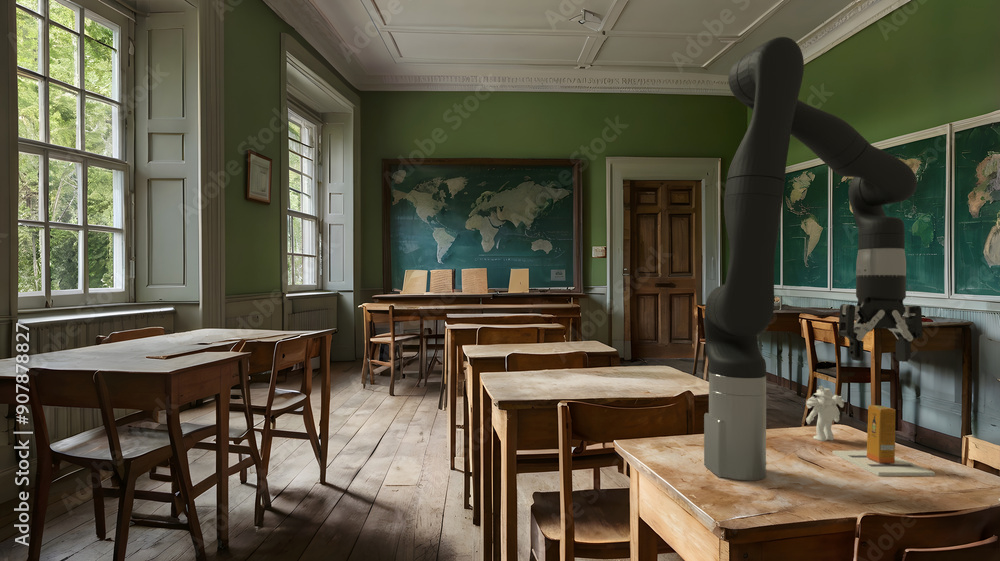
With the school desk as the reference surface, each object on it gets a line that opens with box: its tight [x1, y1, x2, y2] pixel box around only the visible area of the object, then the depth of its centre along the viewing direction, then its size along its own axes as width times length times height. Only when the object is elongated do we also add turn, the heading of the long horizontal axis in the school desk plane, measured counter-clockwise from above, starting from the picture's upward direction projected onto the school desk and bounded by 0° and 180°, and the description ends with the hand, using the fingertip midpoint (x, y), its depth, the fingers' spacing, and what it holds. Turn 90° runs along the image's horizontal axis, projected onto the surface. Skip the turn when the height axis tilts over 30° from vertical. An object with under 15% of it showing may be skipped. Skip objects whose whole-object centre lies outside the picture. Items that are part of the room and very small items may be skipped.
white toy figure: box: [805, 385, 845, 442], centre depth 112 cm, size 9×4×12 cm, turn 106°
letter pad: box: [832, 450, 936, 477], centre depth 96 cm, size 10×12×1 cm
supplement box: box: [866, 404, 896, 464], centre depth 96 cm, size 3×3×10 cm
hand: (879, 360), depth 97 cm, fingers open, 8 cm apart
